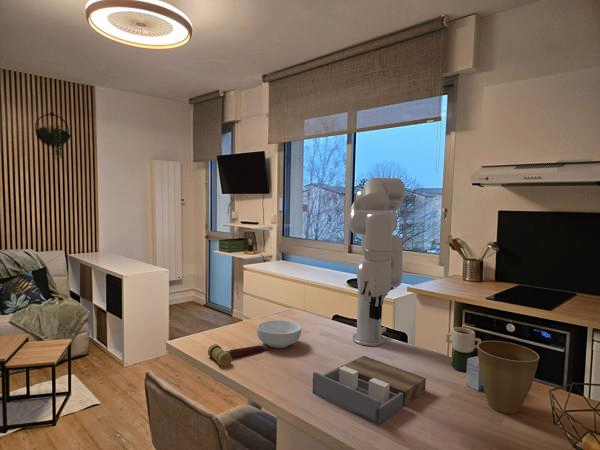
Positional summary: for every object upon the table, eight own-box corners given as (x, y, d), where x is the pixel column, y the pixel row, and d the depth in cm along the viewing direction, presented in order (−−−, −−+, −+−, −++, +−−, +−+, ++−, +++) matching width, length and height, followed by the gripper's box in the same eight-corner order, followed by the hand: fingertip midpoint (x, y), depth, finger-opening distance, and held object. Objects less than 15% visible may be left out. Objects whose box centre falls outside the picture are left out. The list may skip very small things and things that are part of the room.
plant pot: (536, 428, 97) (540, 366, 95) (471, 411, 104) (474, 353, 103) (534, 402, 110) (538, 346, 108) (476, 388, 117) (479, 336, 116)
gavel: (260, 337, 147) (274, 346, 139) (259, 349, 147) (273, 358, 139) (208, 344, 135) (220, 354, 127) (207, 357, 135) (219, 368, 127)
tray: (338, 379, 120) (339, 360, 120) (402, 407, 105) (403, 386, 105) (312, 392, 112) (313, 372, 111) (377, 425, 96) (378, 401, 96)
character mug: (480, 368, 131) (482, 330, 130) (478, 376, 125) (480, 337, 124) (446, 360, 136) (448, 324, 136) (442, 368, 130) (444, 330, 129)
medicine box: (478, 391, 115) (479, 363, 114) (465, 385, 119) (466, 357, 118) (495, 386, 119) (497, 358, 118) (482, 380, 122) (484, 353, 122)
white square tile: (344, 365, 116) (339, 368, 114) (358, 371, 113) (352, 374, 111) (343, 382, 117) (338, 384, 115) (357, 388, 113) (352, 391, 111)
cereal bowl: (309, 342, 151) (309, 324, 150) (284, 356, 137) (285, 337, 136) (273, 333, 160) (274, 316, 159) (247, 346, 146) (247, 327, 145)
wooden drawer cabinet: (363, 367, 130) (363, 355, 129) (425, 391, 114) (425, 378, 114) (340, 378, 121) (341, 366, 121) (404, 406, 106) (405, 391, 105)
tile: (373, 377, 109) (368, 380, 107) (389, 383, 106) (384, 387, 104) (373, 395, 109) (368, 398, 107) (388, 401, 106) (383, 405, 104)
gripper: (380, 251, 119) (378, 310, 120) (351, 256, 108) (349, 321, 110) (402, 254, 114) (399, 315, 115) (374, 260, 103) (371, 328, 105)
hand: (375, 318), depth 112 cm, fingers closed
